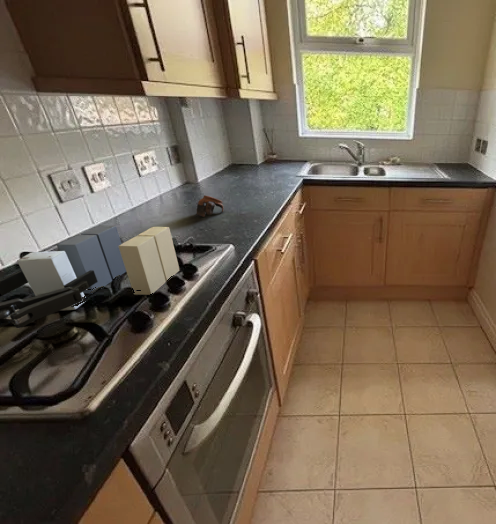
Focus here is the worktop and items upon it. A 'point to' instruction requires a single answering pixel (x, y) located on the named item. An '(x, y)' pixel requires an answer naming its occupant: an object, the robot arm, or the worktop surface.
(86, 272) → the robot arm
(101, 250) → the grey books
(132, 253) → the cream boxes
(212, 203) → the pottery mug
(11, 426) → the worktop surface
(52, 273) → the cosmetic box
